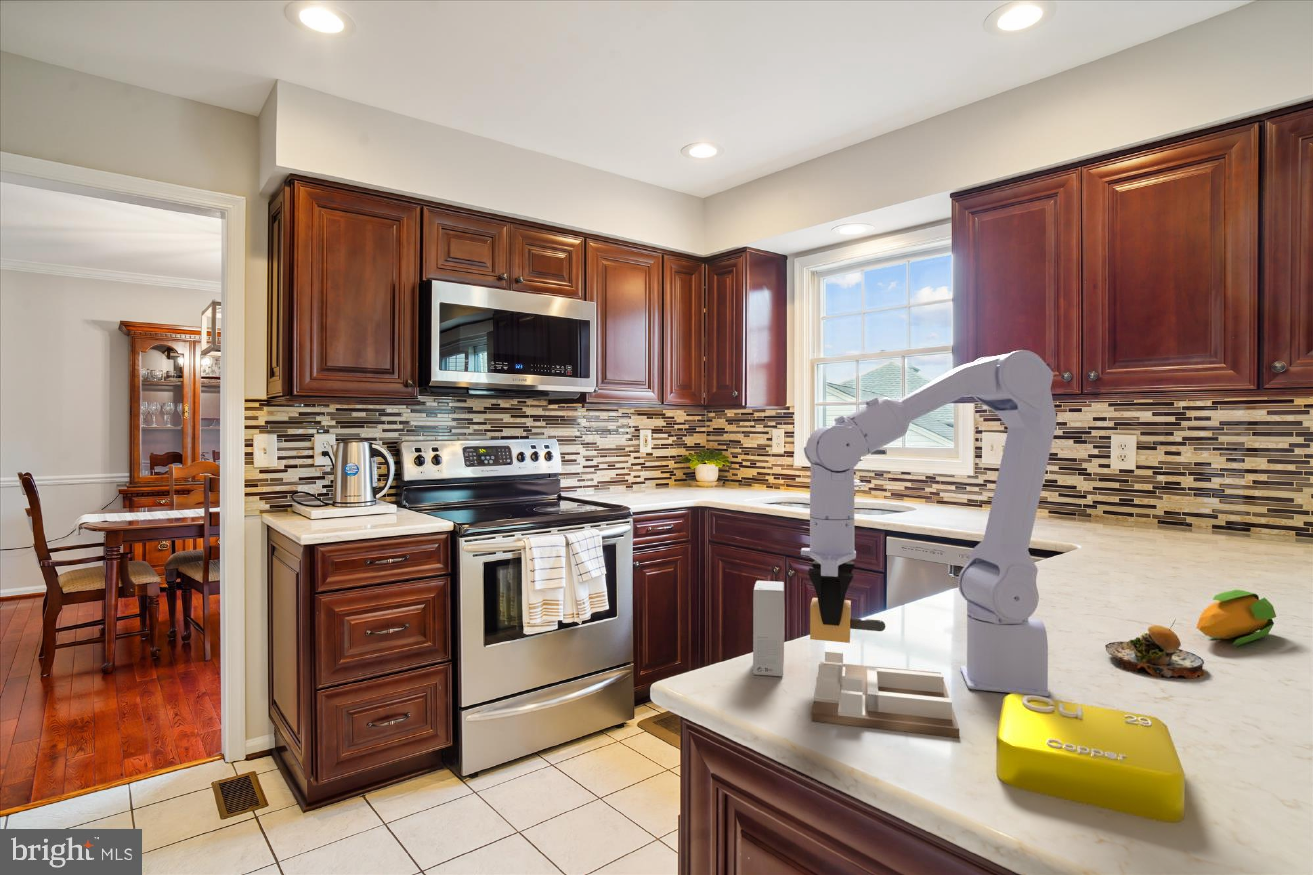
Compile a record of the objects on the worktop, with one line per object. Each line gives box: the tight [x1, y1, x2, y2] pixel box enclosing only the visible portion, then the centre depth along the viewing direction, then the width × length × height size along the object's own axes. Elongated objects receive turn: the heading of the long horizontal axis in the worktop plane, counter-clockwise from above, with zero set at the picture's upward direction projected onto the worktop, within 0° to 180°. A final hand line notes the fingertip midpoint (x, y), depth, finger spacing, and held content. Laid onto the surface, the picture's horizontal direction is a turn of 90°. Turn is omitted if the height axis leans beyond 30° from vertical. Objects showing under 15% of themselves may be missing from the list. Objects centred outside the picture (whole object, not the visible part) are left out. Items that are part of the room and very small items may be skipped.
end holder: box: [867, 666, 953, 720], centre depth 84 cm, size 9×9×2 cm
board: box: [811, 661, 960, 739], centre depth 87 cm, size 16×18×1 cm
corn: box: [1196, 589, 1277, 647], centre depth 110 cm, size 7×8×20 cm
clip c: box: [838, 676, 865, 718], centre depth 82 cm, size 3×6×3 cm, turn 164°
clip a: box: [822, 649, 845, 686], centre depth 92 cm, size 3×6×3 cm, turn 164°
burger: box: [1104, 618, 1206, 680], centre depth 99 cm, size 12×12×8 cm
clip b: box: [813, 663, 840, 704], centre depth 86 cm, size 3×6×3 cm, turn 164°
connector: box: [809, 597, 886, 644], centre depth 90 cm, size 9×4×4 cm, turn 73°
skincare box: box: [752, 580, 785, 677], centre depth 98 cm, size 6×4×12 cm
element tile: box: [995, 693, 1186, 823], centre depth 69 cm, size 15×15×5 cm
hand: (831, 619), depth 91 cm, fingers closed on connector, 4 cm apart
